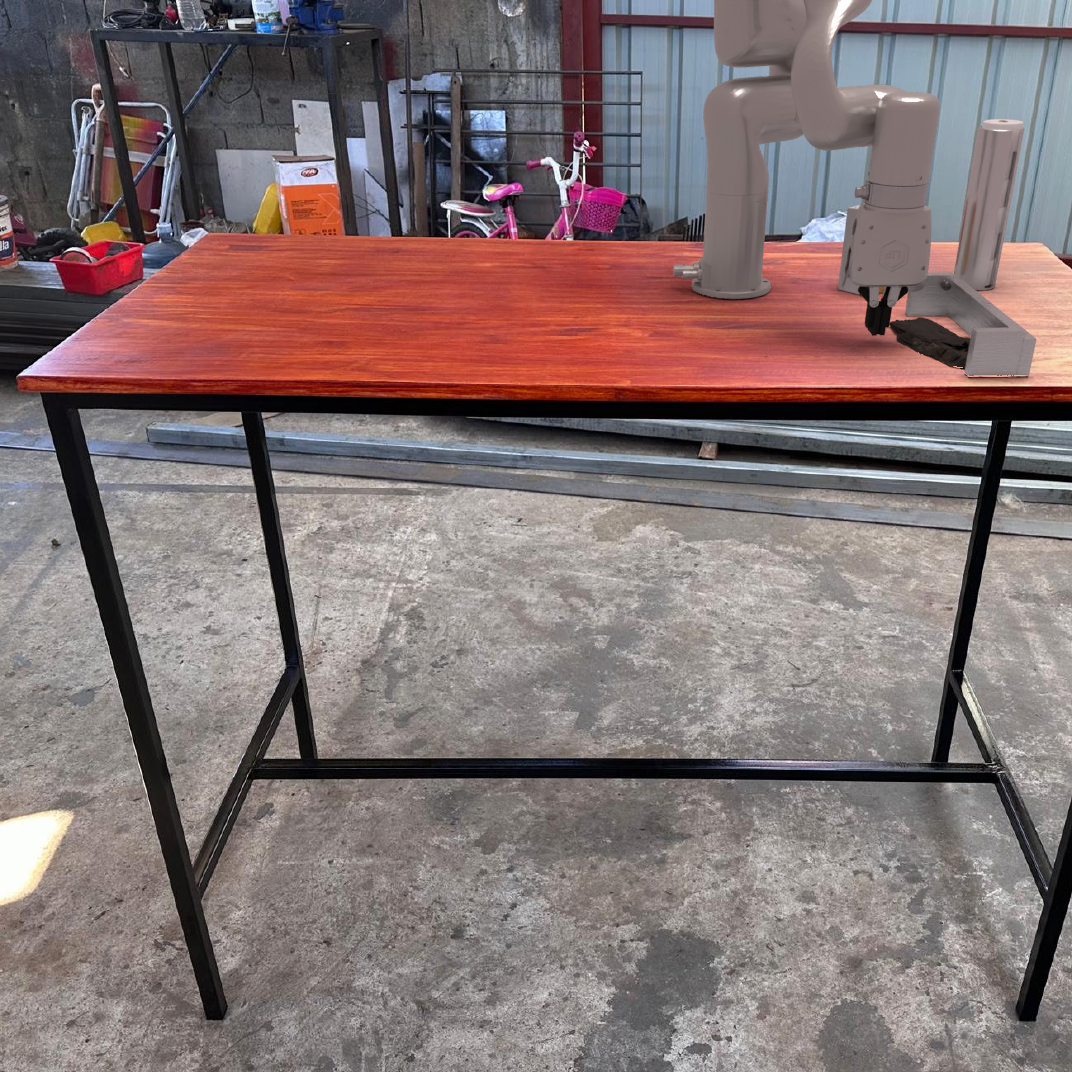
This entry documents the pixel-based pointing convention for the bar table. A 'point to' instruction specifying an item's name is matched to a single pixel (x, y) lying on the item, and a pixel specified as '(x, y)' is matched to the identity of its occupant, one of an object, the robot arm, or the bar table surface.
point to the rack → (976, 325)
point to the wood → (932, 340)
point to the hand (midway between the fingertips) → (875, 332)
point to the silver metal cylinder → (988, 202)
